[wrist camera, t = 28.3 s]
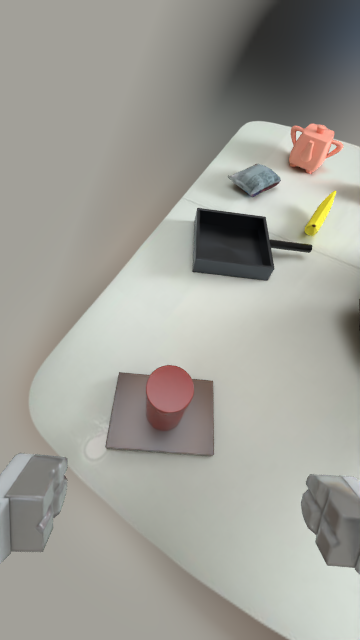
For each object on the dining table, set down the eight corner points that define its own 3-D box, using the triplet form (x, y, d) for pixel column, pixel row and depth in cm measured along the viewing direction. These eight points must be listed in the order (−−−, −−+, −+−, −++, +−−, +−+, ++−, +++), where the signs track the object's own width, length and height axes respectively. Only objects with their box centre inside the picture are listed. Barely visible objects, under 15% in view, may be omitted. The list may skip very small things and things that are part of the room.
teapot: (277, 151, 82) (292, 112, 73) (312, 152, 84) (331, 115, 75) (292, 178, 75) (311, 139, 66) (331, 179, 77) (354, 141, 68)
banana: (329, 210, 69) (345, 187, 63) (305, 251, 60) (321, 228, 54) (319, 205, 69) (333, 182, 64) (293, 245, 60) (307, 222, 55)
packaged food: (225, 185, 69) (230, 166, 65) (254, 172, 74) (261, 154, 70) (249, 204, 67) (256, 185, 62) (278, 189, 71) (287, 171, 67)
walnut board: (106, 448, 35) (105, 447, 34) (120, 375, 40) (119, 372, 39) (211, 456, 36) (214, 455, 35) (211, 384, 41) (213, 380, 40)
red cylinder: (143, 429, 36) (142, 410, 26) (148, 392, 38) (148, 362, 29) (180, 432, 36) (193, 414, 27) (182, 395, 38) (194, 367, 29)
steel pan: (192, 271, 53) (195, 258, 50) (194, 221, 61) (197, 207, 58) (310, 285, 54) (320, 273, 51) (297, 234, 62) (305, 221, 59)
